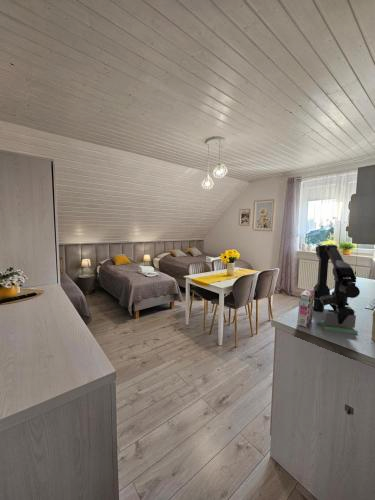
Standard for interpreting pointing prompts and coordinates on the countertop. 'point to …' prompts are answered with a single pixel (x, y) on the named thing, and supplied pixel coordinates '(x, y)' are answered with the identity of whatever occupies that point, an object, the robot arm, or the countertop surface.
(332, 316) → the grey cinder block
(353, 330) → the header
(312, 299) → the candy bar box
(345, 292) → the robot arm
